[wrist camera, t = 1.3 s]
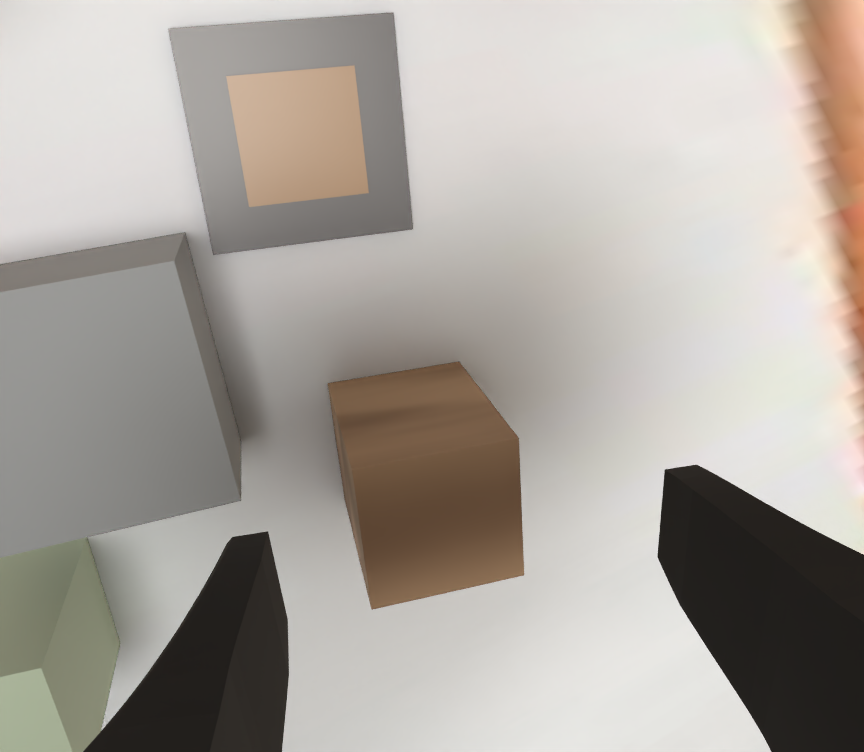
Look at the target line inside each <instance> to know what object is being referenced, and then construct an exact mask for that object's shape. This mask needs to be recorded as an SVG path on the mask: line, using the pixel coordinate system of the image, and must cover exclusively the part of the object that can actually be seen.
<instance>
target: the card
mask: <svg viewBox="0 0 864 752" xmlns="http://www.w3.org/2000/svg"><path fill="white" fill-rule="evenodd" d="M168 30H169V35H170V40H171V45H172V50H173V56H174V61H175V66H176V71H177V76H178V81H179V86H180V91H181V96H182V101H183V106H184V111H185V116H186V121H187V126H188V131H189V136H190V141H191V146H192V151H193V156H194V161H195V166H196V171H197V176H198V181H199V186H200V191H201V196H202V201H203V206H204V211H205V216H206V221H207V226H208V231H209V236H210V241H211V246H212V251H213V255H216V254H224V253H231V252H239V251H247V250H255V249H262V248H270V247H278V246H286V245H294V244H301V243H309V242H317V241H325V240H333V239H340V238H348V237H356V236H364V235H372V234H379V233H387V232H395V231H403V230H411V229H413V225H412V214H411V203H410V191H409V180H408V169H407V158H406V147H405V136H404V125H403V114H402V103H401V92H400V81H399V70H398V59H397V47H396V36H395V25H394V14H393V13H381V14H367V15H353V16H339V17H325V18H311V19H297V20H283V21H269V22H255V23H241V24H227V25H213V26H199V27H185V28H171V29H168Z"/></svg>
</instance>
